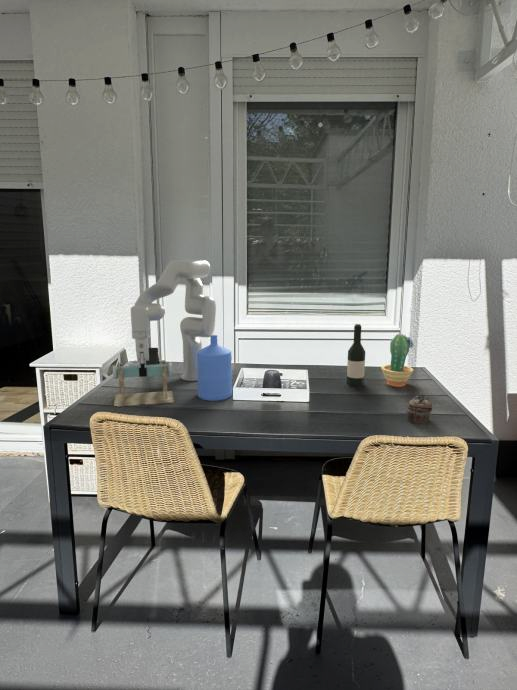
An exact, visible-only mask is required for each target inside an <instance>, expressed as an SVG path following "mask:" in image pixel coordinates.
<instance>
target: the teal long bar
mask: <svg viewBox="0 0 517 690" xmlns="http://www.w3.org/2000/svg"><path fill="white" fill-rule="evenodd" d="M162 365H166V374H167V376H168V377H172V376H173V365H172V361H170V362H168V361H167V363H166V364H162V363H160V364H155V365H146V367H147V376H146V377H156V376H162V375H163V371H162ZM144 366H145V365H144ZM118 367H119V366H117V365H112V378H113V380H118V379H119V373H118ZM120 367H122V369H123V378H124V379H125V378H136V377H137V378H138V377H139V378H141V377H140V376H139V365H123V366H120Z"/></svg>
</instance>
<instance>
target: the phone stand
mask: <svg viewBox="0 0 517 690" xmlns="http://www.w3.org/2000/svg"><path fill="white" fill-rule="evenodd" d="M148 348H149V361H147V360H146V365H155V364H161V362H160V356H159V348H158V347H148Z"/></svg>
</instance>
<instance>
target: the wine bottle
mask: <svg viewBox="0 0 517 690" xmlns="http://www.w3.org/2000/svg"><path fill="white" fill-rule="evenodd" d="M354 324H355V325H354V326H353V327H354V328H353V342H352V344H351V346H350V347H349V349H348V351H347V364H346V365H347V367H346V370H347V371H346V385H347V386H349V387H356V388H357V387H358V388H359V387H363V386H364V384H365V369H366V368H365V367H366V366H365V365H366V350H365V348H364V346H363V344H362V342H361V341H362V325H361V323H354Z"/></svg>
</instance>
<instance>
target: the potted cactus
mask: <svg viewBox="0 0 517 690" xmlns="http://www.w3.org/2000/svg"><path fill="white" fill-rule="evenodd" d="M413 347H414V342H413V340H412V339H411V337H409V336H406V334H403V333H401V334H400V333H397V334H396V335H395V336H394V337H393V338H392V339H391V341H390V343H389V350H390V355H391V358H390V364H385V365H382V366H381V367H380V369H381V371H382V373H383V376H384V378H385V380H386V382H387V383H386V384H387V385H388V386H391V387H396V388H397V387H398V388H399V387H405V386H406V383H407V382H408V380H409V378H410V377H411V375H412V374H413V372H414V368H412V366H408V365H405V363H406V359H407V356H408V354H409V352H410V349H413Z"/></svg>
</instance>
